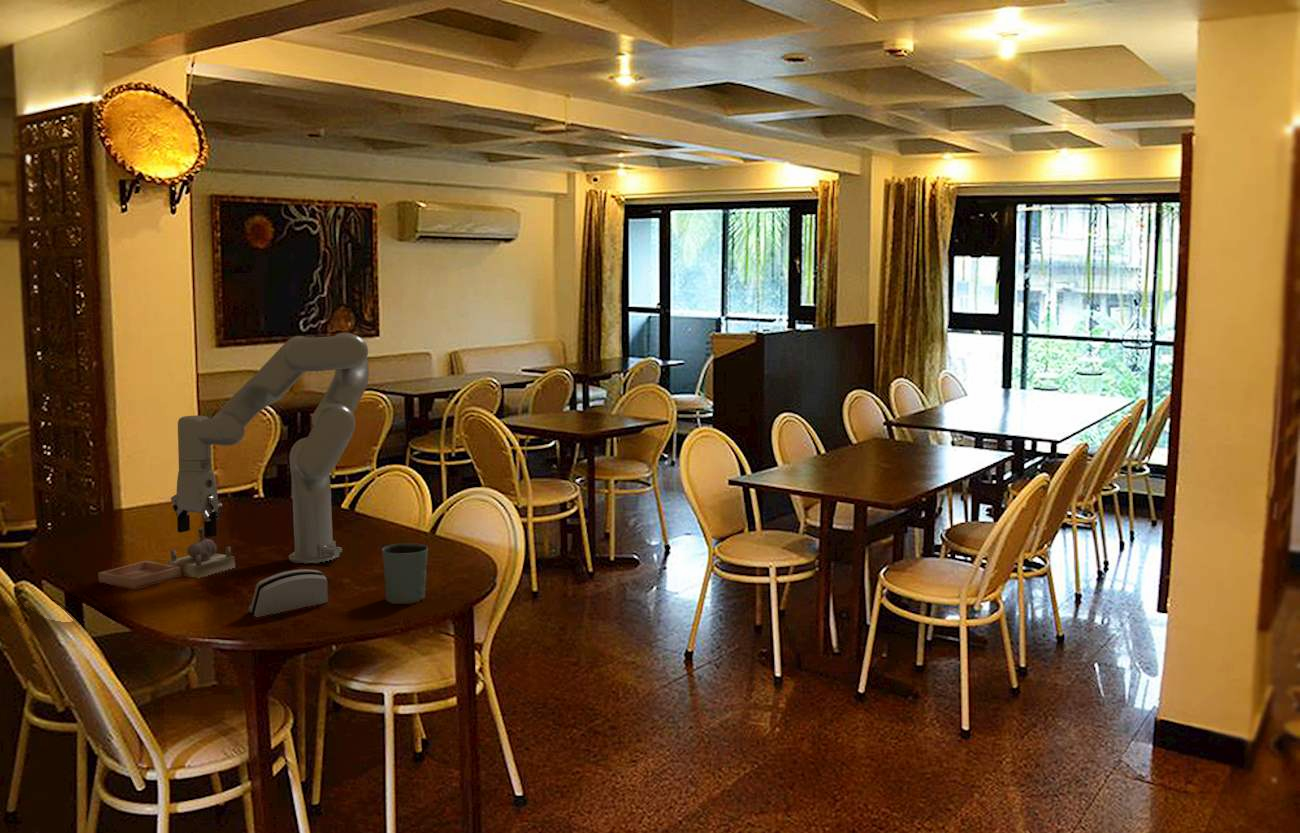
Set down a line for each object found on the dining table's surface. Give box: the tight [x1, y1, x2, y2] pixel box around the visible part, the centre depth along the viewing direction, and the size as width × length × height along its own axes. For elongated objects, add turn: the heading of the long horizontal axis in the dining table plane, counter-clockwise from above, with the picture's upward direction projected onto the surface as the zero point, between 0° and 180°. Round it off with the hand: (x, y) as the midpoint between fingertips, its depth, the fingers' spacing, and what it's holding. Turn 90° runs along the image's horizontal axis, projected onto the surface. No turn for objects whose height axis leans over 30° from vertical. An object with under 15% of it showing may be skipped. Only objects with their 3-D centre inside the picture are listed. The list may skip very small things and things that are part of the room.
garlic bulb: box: [187, 527, 218, 561], centre depth 277 cm, size 8×7×8 cm
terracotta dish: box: [97, 560, 182, 590], centre depth 270 cm, size 13×13×2 cm
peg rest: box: [167, 546, 236, 579], centre depth 278 cm, size 11×11×6 cm
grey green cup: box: [381, 542, 429, 603], centre depth 252 cm, size 10×10×12 cm
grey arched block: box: [248, 568, 329, 618], centre depth 245 cm, size 17×5×10 cm, turn 131°
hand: (197, 533), depth 277 cm, fingers open, 9 cm apart
